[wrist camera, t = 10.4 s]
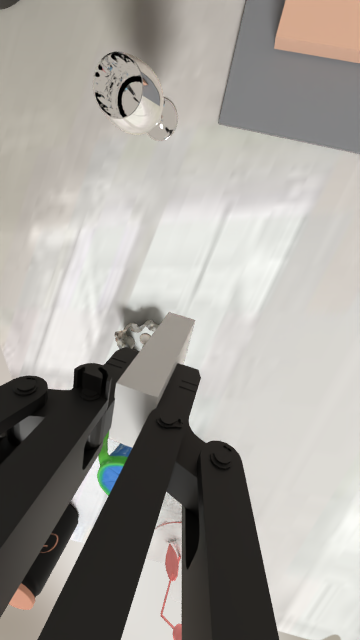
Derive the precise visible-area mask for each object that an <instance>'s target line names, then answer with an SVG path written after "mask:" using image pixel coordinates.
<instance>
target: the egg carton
mask: <svg viewBox="0 0 360 640" xmlns="http://www.w3.org/2000/svg"><path fill="white" fill-rule="evenodd" d="M145 326H146V327H147V328H148V329H149V330H152V331H154V332H155V330H156V329H157V328H158V326H159V325H157V324H155V323H154V322H153V320H147V321H146V322H145V323H144V324H143V325H141V326H140V327H139V326H138V324H135V323H129V324H128V325H127V326H126V327H125V328H124V330H122V331H118V332H115V337H116V342H117V345H118V347H119V349H122V348H124V347H128V348H131V349H132V348H133V347H134V345H135V341H134V339H133V338H132V337H130V336H127V334H126V331H127V329H128V328H130V329H131V330H132V331H133V332H137V333H138V332H141V331H142V330H143V329H144V327H145ZM150 337H151V336H150V335H149V334H146V333H144V334H142V335H141V336H140V341H141V343H142V344H144V345H145V344H146V342H147V341H148V340H149V338H150Z"/></svg>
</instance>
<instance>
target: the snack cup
mask: <svg viewBox="0 0 360 640" xmlns="http://www.w3.org/2000/svg"><path fill="white" fill-rule="evenodd" d="M108 437H109V431H108V433H107V434H106V436H105V438H104V441H103V446H102V449H101V452H100V453H99V455H98V457H99V462H100V468H99V470H98V474H97V478H98V482H99V484H100V486H101V488H102V489H103V490H104V492H105V493H106V494H107V495H108V496H109V494H110V492H111V490H112V488H113V486H114V484H115V482H116V480H117V478H118V476H119V474H120V472H121V470H122V468H123V466H124V464H125V462H126V460H127V458H128V456H129V454H130V452H131V450H132V447H129V446H126V445H124V444H121V443H120V444H119V446H118V447H117V448H116V449H115V451H114V452H113V453H112V454H110V455H108V453H107V451H108V446H107V445H108V443H107V442H108V441H107V440H108Z"/></svg>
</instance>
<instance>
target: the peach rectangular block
mask: <svg viewBox="0 0 360 640" xmlns="http://www.w3.org/2000/svg"><path fill="white" fill-rule="evenodd" d="M274 49H279V50H285V51H291V52H296V53H302V54H308V55H314V56H320V57H325V58H331V59H337V60H343V61H349V62H354V63H360V0H286V1H285V4H284V8H283V12H282V15H281V19H280V23H279V26H278V30H277V34H276V38H275V46H274Z"/></svg>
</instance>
